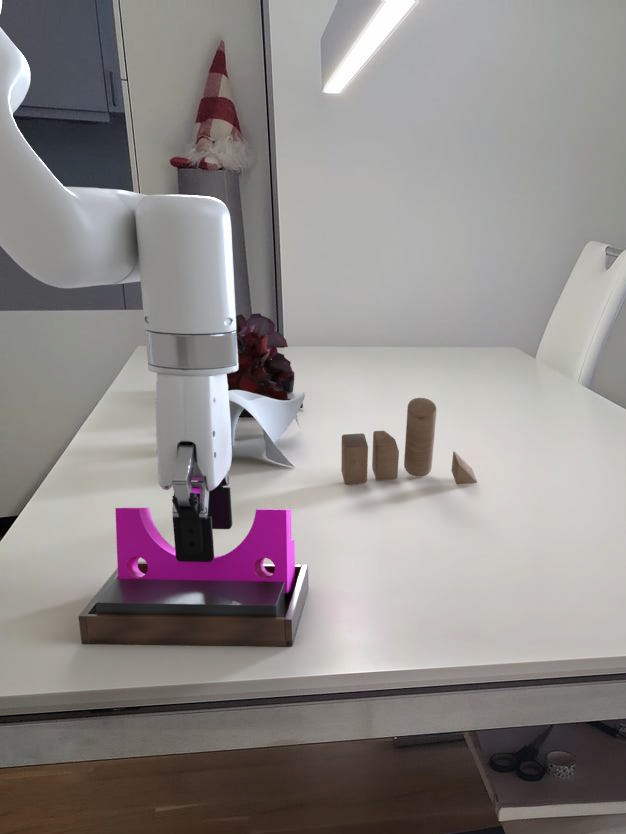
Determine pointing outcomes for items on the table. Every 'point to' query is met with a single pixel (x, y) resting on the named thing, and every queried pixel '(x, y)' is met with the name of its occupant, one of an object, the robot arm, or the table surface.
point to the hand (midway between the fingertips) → (205, 543)
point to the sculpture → (266, 417)
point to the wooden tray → (195, 611)
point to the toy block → (238, 565)
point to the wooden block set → (387, 452)
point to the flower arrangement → (261, 360)
